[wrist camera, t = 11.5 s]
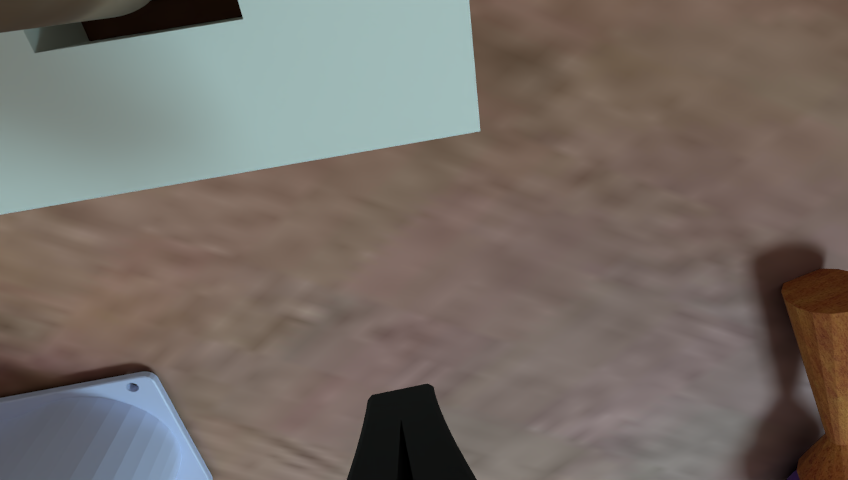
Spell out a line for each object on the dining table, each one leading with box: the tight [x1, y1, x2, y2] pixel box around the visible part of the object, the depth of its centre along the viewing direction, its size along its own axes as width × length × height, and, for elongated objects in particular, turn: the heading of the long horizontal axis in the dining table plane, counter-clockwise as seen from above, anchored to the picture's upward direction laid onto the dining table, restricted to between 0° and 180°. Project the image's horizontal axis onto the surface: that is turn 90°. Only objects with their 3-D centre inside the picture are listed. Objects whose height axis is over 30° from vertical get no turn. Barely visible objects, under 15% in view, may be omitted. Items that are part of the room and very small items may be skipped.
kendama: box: [781, 269, 848, 480], centre depth 27 cm, size 6×6×20 cm
